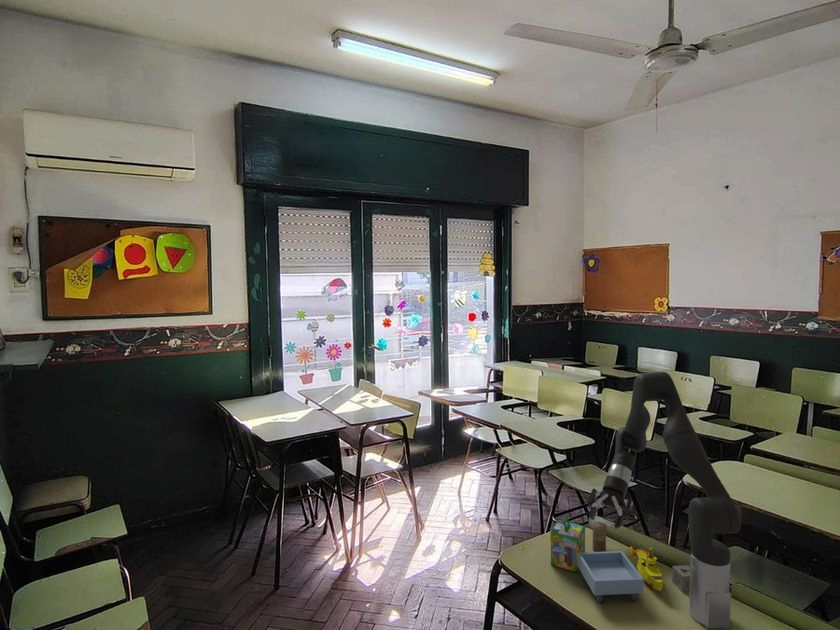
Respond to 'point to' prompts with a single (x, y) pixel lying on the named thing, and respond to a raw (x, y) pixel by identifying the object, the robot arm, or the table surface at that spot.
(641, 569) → the yellow toy submarine
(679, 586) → the grey cube with hole
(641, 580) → the wheeled cart
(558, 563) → the chalk box
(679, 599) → the table surface
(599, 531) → the cylinder
